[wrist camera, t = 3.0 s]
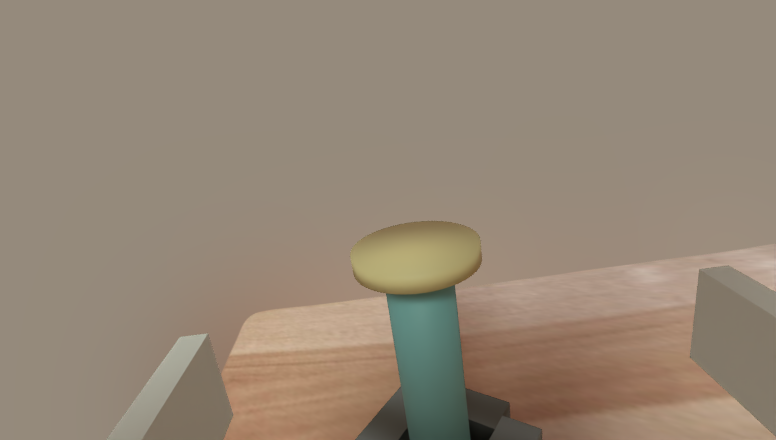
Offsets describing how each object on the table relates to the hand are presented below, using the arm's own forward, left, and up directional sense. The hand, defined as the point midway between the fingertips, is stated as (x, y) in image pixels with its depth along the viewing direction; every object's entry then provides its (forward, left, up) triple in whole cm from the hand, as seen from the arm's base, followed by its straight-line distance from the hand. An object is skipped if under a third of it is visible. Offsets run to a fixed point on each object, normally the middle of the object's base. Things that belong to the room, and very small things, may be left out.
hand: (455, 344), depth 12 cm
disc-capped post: (-12, -9, -23) cm, 28 cm away
